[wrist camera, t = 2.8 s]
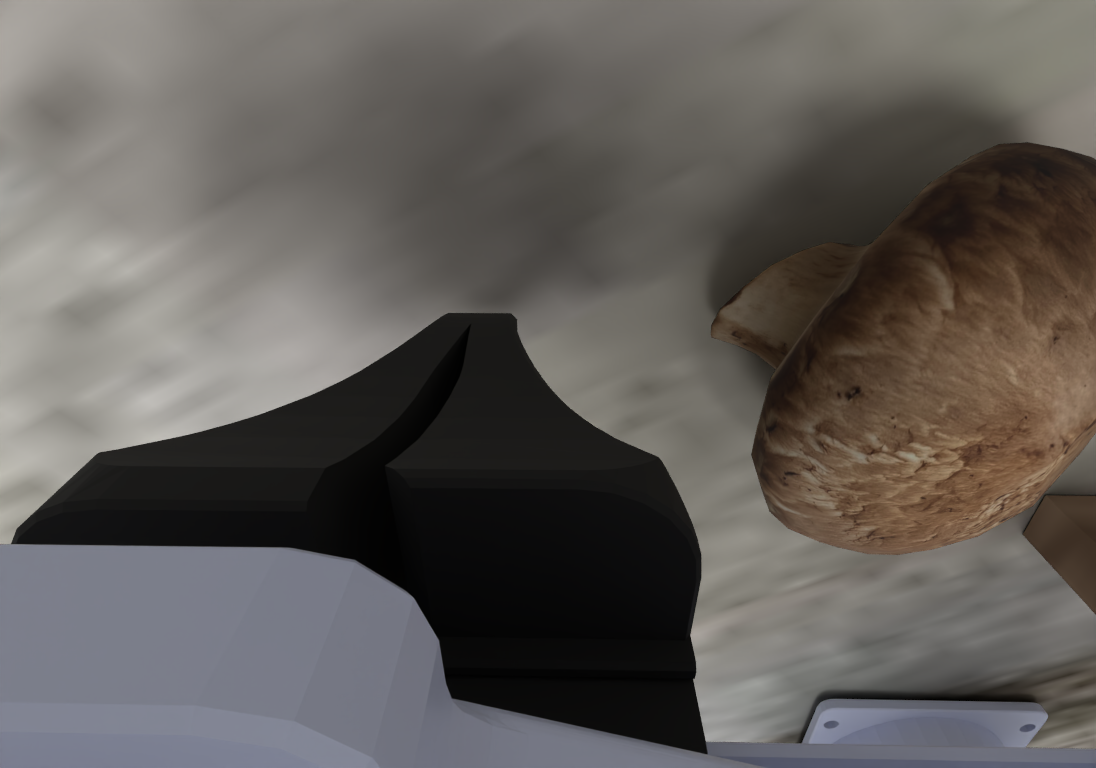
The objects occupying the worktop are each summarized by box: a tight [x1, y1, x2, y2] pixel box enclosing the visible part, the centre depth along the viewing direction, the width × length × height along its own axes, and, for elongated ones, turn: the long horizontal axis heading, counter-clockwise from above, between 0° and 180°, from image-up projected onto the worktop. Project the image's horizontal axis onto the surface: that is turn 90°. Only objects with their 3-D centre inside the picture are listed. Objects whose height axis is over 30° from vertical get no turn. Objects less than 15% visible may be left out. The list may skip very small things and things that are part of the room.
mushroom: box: [711, 142, 1096, 555], centre depth 11 cm, size 8×8×6 cm
